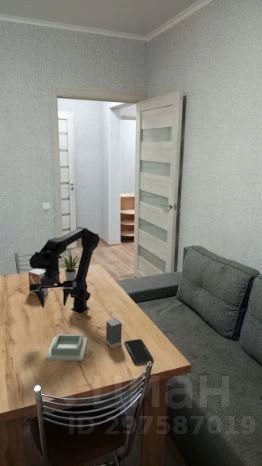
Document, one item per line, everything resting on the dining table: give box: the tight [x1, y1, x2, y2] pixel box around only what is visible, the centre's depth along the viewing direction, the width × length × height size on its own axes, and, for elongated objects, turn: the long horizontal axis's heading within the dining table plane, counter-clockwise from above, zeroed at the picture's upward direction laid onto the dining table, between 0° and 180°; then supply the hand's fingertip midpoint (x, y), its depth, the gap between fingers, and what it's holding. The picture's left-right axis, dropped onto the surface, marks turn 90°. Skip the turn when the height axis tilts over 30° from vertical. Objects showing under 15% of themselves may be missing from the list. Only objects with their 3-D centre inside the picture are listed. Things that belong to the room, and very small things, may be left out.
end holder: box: [45, 333, 88, 362], centre depth 131 cm, size 14×14×4 cm
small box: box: [27, 269, 49, 297], centre depth 177 cm, size 8×6×13 cm
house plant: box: [59, 253, 81, 281], centre depth 196 cm, size 14×14×16 cm
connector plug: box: [105, 317, 123, 349], centre depth 135 cm, size 5×5×10 cm
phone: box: [123, 338, 154, 366], centre depth 131 cm, size 8×1×15 cm
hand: (53, 306), depth 136 cm, fingers open, 9 cm apart
